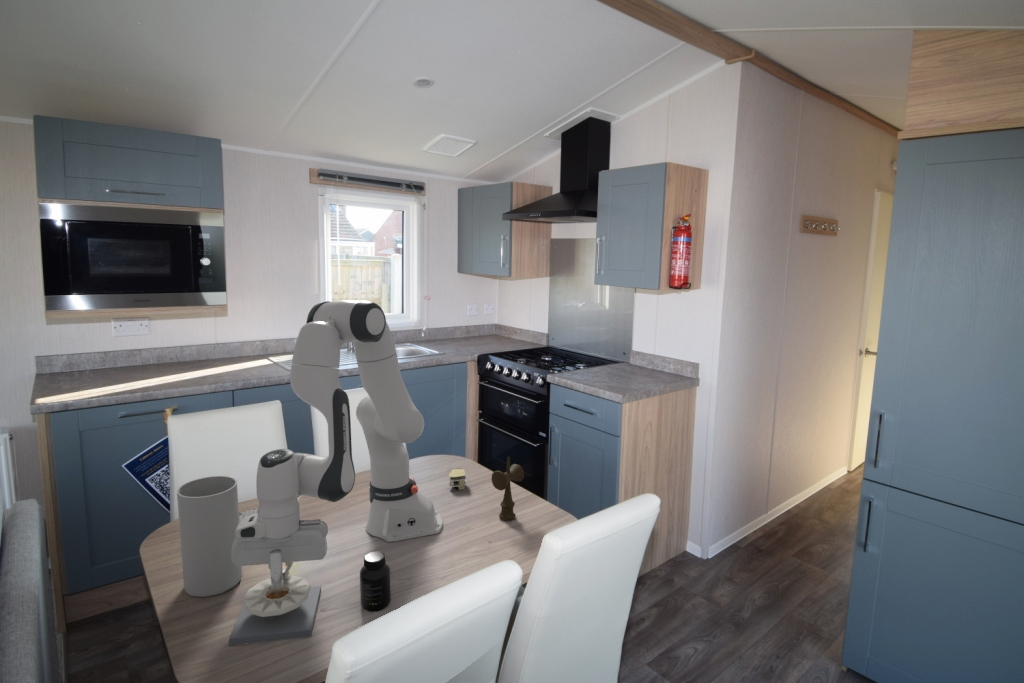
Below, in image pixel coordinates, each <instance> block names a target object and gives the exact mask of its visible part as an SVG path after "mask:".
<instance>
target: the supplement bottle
mask: <svg viewBox="0 0 1024 683" xmlns="http://www.w3.org/2000/svg"><path fill="white" fill-rule="evenodd" d="M386 562H387V559H386V554H385V552H383V551H380V550H375V551H374V550H373V551H369V552H368V553H366V554H365V555H364V556H363V566H362V567H361V569H360V571H359V590H360V606H361V608H362V609H363V610H364V611H366V612H369V613H378V612H381V611H383V610H385V609H386V608H388V606H389V605H390V604H391V600H392V597H391V595H392V594H391V593H392V592H391V589H392V588H391V568H390V565H389V564H388V563H386Z"/></svg>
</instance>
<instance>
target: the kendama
mask: <svg viewBox="0 0 1024 683" xmlns="http://www.w3.org/2000/svg"><path fill="white" fill-rule="evenodd" d="M510 459H511V458H510V456H508V457H507V461H506V472H502V471H501V470H495V471H493V472H492V474H491V483H492V485H493V487H494V488H495V489H497V491H504V493H503V498H502V501H501V502H500V504H499V505H500V507H501V510H500V511H501V512H500V513H499V515H498V517H499V519H501V520H503V521H513V520H515V518H516V513H515V512H514V507H515V505H516V502H515V501H514V500H513V497H512V488H511V486H512V485H511V481H515V482H522V481H523V479H524V477H525V473H524V469H523V467H522V466H521V465H520V464H516V463H513V464H511V462H510V461H511V460H510Z"/></svg>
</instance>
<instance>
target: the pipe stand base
mask: <svg viewBox="0 0 1024 683" xmlns="http://www.w3.org/2000/svg"><path fill="white" fill-rule="evenodd" d="M321 594H322V585H316V586H310V591H309V595H308V599H307V600H306V601H304V602H303V603H302V604H301V605H300V606H299V607H298V608H296V609H294V610H291V611H289V612H286V613H284V614H281V615H275V616H266V617H261V616H257V615H254V614H250V613H249V612H248V611H247V609H246V608H245V606H244V605H243V606H242V608H241V610H240V612H239V615H238V617H237V620H236V622H235V623H234V626H233V629H232V631H231V634H230V636H229V638H228V646H238V645H239V644H240V645H246V643H248V644H254V643H255V644H256V642H257V643H265V642H273V641H274V642H275V641H282V640H291V639H300V638H301V639H302V638H309V637H312V633H313V630H314V625H315V620H316V616H317V611H318V606H319V602H320V598H321Z"/></svg>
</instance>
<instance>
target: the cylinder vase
mask: <svg viewBox="0 0 1024 683" xmlns="http://www.w3.org/2000/svg"><path fill="white" fill-rule="evenodd" d="M176 497H177V498H176V499H177V511H178V524H179V526H178V527H179V537H180V550H181V552H180V553H181V565H182V577H183V588H184V589H183V590H184V591H185V592H186V594H188V595H189V596H191V597H197V598H206V597H207V598H208V597H213V596H218V595H220V594H223V593H225V592H227V591H230V590H231V589H232V588H234V587H235V586H236V585H237V584H239V582H240V581H241V580H242V577H243V566H235V565H233V564H232V562H231V552H232V544H233V542H234V540H235V538H236V536H235V531H236V528H237V526H238V524H239V511H240V510H239V493H238V480H237V479H236V478H235V477H231V476H226V475H213V476H212V475H210V476H205V477H201V478H196V479H193V480H190V481H188V482H185V483H183V484H182V485H180V486H179V487H178V488H177V490H176Z"/></svg>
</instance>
